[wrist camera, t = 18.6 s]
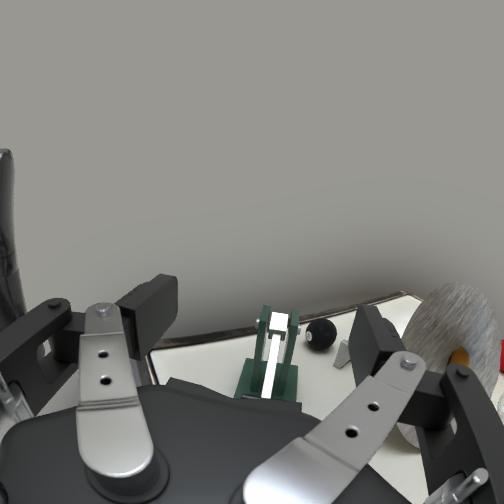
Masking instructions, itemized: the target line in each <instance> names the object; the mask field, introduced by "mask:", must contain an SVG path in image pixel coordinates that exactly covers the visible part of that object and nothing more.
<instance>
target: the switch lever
mask: <svg viewBox="0 0 504 504" xmlns="http://www.w3.org/2000/svg"><path fill="white" fill-rule="evenodd" d="M287 322H288V314H281V313H275V312H272V316H271V322H270V327H269V335H268V339H272V341H271V346H270V352H269V357H268V363H267V368H266V373H265V379H264V384H263V389H262V394H261V396H257V395H251V394H246V393H242V395H241V399H264V398H269V399H276V400H283V401H290V400H284V399H277V398H271V393H272V387H273V382H274V376H275V370H276V364H277V358H278V352H279V346H280V340H282V341H284V339H285V334H286V329H287Z"/></svg>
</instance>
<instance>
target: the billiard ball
mask: <svg viewBox="0 0 504 504" xmlns="http://www.w3.org/2000/svg"><path fill="white" fill-rule="evenodd" d="M336 336H337V330H336V327H335V325H334V324H333V323H332V322H331V321H330V320H328V319H324V318H319V319H316V320H313V321H312V322H311V323H310V324H309V325H308V327H307V329H306V339H307V342H308V343H309V344H310V345H311V346H312V347H313V348H316V349H326V348H328V347H330V346H331V345H332V344H333V343H334V341H335V339H336Z"/></svg>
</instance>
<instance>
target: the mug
mask: <svg viewBox="0 0 504 504" xmlns="http://www.w3.org/2000/svg"><path fill="white" fill-rule="evenodd" d="M503 399H504V393H503V394H502V396H501V398H500V400H499V402H498V406H497V408H498V411H499V414H498V415H499V417H500V419H501V421H502V423H503V425H504V405H503V406H502V401H503Z"/></svg>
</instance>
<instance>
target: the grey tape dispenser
mask: <svg viewBox="0 0 504 504" xmlns="http://www.w3.org/2000/svg"><path fill="white" fill-rule="evenodd" d="M348 342H349V340H343V341H341V343H340V347H339V350H338V354H337V357H336V360H335V363H334V366H335V367H337V368H338V369H341V367H343V366H344V365H345V364H346V362H347V361H349V360H350V354H349V350H348Z"/></svg>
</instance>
